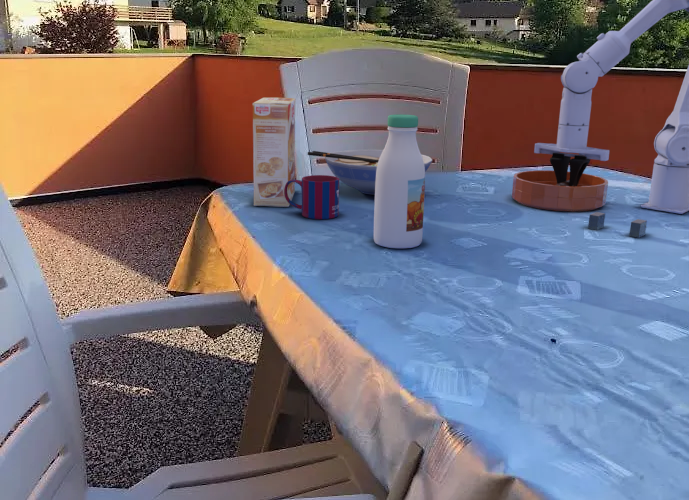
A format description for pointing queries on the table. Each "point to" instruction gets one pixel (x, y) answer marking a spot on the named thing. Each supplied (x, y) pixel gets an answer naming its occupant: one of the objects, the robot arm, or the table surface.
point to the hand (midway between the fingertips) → (566, 192)
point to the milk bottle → (400, 186)
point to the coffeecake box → (273, 150)
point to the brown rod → (564, 183)
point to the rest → (635, 230)
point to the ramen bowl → (357, 167)
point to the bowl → (558, 191)
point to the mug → (317, 196)
